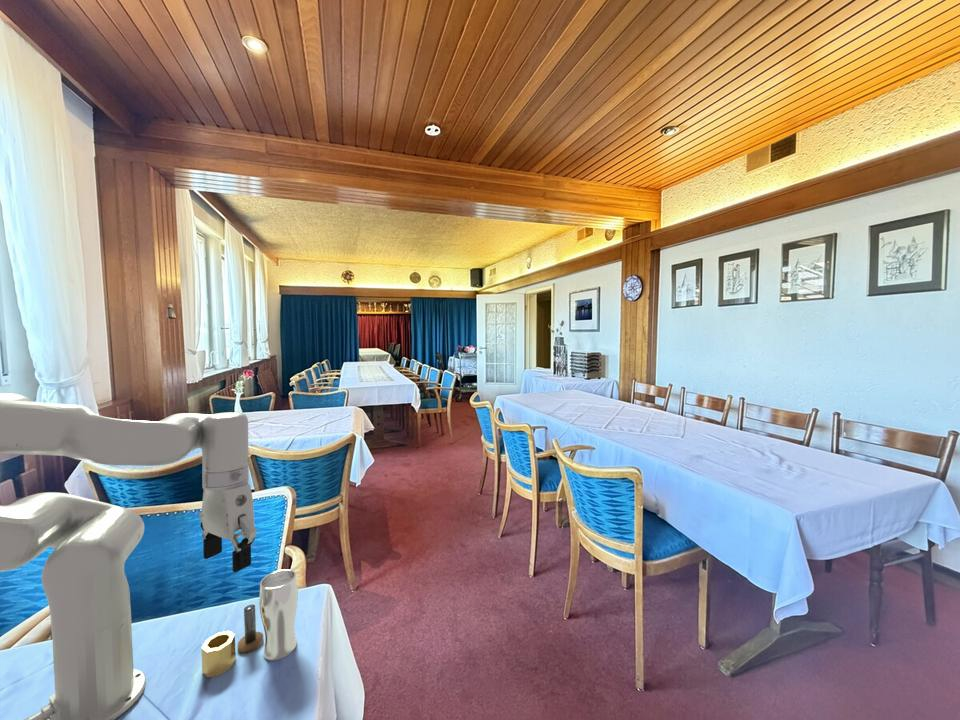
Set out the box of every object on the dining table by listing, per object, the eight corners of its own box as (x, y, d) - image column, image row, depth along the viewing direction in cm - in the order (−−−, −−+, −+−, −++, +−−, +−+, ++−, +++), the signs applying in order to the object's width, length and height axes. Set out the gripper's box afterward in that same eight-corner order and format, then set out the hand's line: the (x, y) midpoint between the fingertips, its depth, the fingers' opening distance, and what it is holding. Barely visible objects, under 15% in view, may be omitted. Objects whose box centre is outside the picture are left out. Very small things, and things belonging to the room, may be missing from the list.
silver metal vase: (305, 636, 81) (303, 569, 80) (286, 664, 74) (283, 590, 74) (275, 634, 82) (273, 567, 81) (253, 661, 75) (250, 588, 74)
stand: (245, 656, 76) (243, 618, 76) (233, 647, 78) (232, 610, 78) (267, 641, 80) (266, 604, 80) (255, 633, 82) (254, 597, 82)
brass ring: (211, 681, 70) (210, 655, 70) (198, 669, 73) (197, 644, 73) (239, 661, 75) (238, 637, 75) (226, 651, 77) (225, 628, 77)
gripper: (272, 477, 73) (273, 563, 73) (221, 464, 81) (221, 542, 81) (232, 490, 66) (233, 585, 67) (180, 474, 74) (181, 560, 74)
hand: (227, 561), depth 74 cm, fingers open, 9 cm apart
